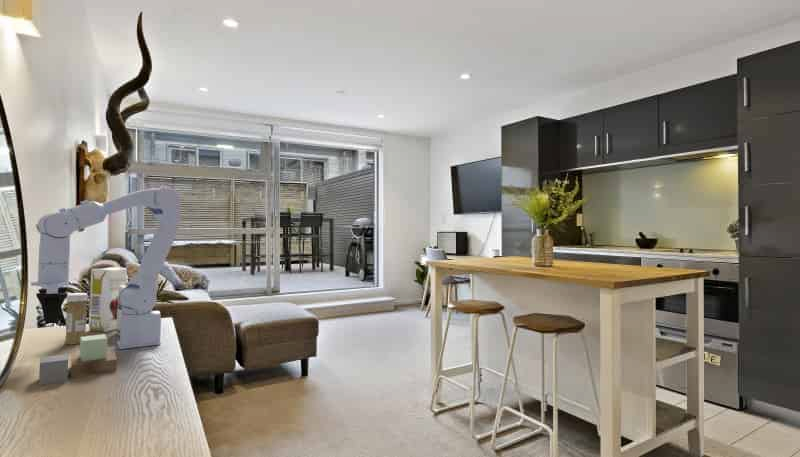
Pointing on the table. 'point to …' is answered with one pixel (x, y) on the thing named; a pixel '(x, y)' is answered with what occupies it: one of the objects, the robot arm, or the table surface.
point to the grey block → (53, 369)
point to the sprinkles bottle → (75, 317)
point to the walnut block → (93, 365)
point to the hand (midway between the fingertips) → (51, 320)
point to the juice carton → (105, 298)
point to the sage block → (93, 347)
